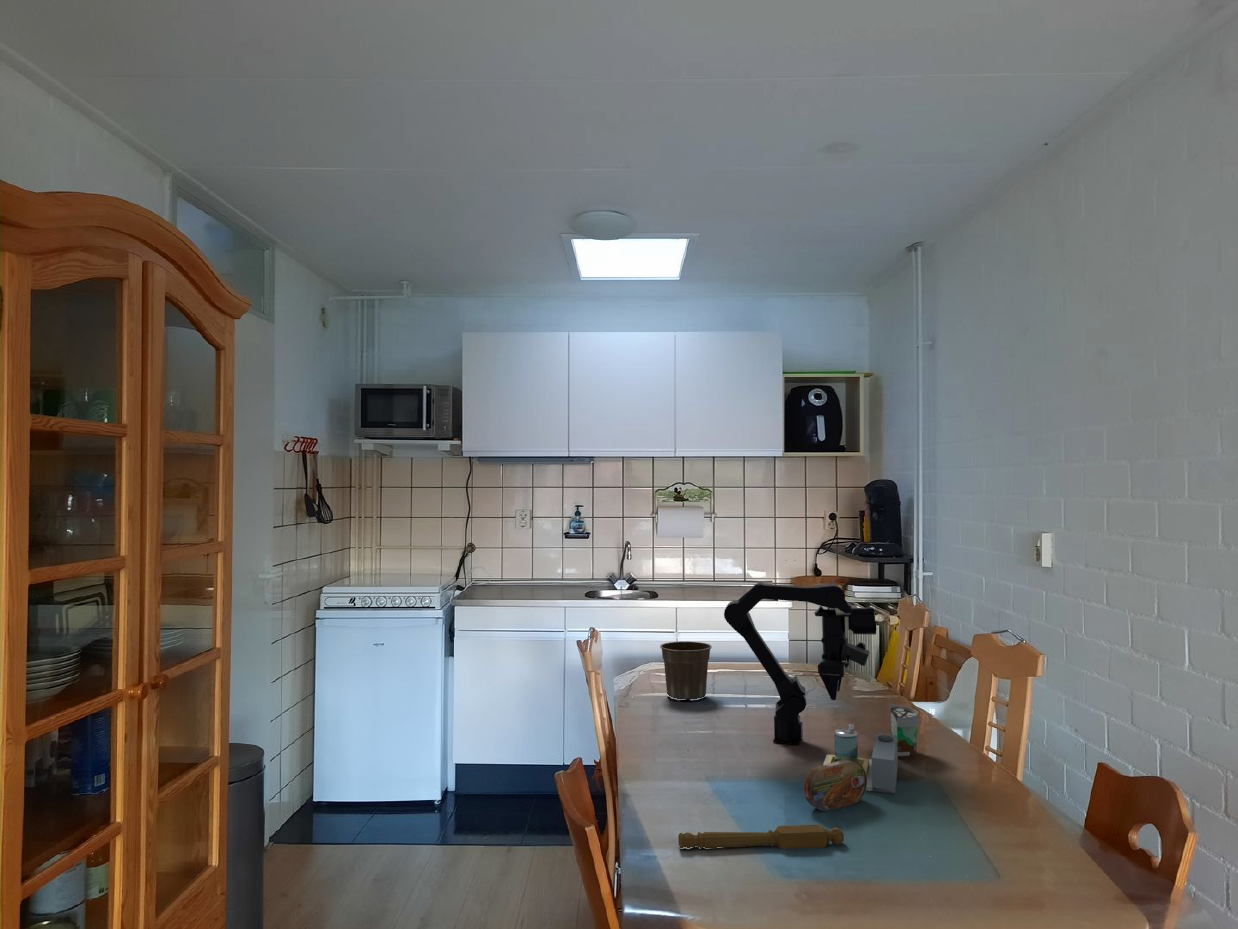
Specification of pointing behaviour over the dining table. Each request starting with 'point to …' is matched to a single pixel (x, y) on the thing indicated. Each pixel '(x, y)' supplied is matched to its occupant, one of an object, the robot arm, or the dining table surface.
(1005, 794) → the dining table surface
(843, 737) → the spout can
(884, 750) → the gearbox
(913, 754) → the food container
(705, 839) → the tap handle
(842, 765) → the tin
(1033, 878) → the dining table surface
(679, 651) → the plant pot
